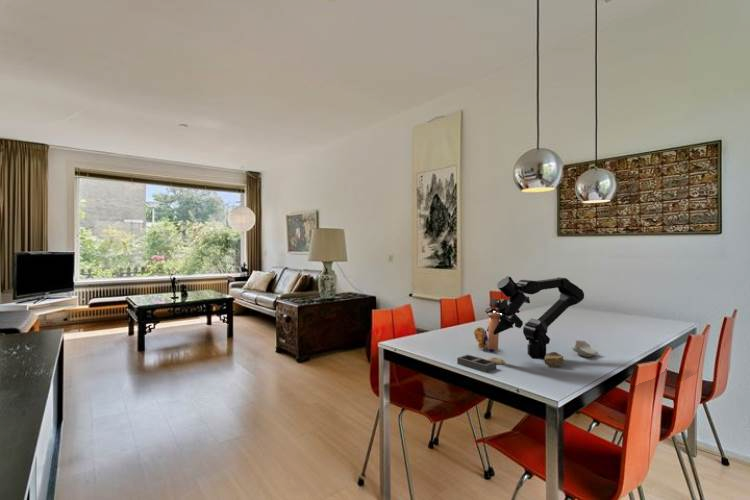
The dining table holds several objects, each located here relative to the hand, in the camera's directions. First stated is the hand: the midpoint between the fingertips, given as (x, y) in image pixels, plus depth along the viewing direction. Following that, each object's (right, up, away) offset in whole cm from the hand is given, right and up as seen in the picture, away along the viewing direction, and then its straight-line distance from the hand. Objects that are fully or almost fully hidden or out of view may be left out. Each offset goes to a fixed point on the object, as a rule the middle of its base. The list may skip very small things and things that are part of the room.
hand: (490, 332), depth 149 cm
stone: (+24, -12, -2) cm, 27 cm away
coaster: (+1, -12, 0) cm, 12 cm away
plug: (+1, -6, 0) cm, 7 cm away
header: (-7, -12, -5) cm, 15 cm away
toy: (+3, -12, +19) cm, 23 cm away
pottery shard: (+43, -12, +7) cm, 45 cm away
